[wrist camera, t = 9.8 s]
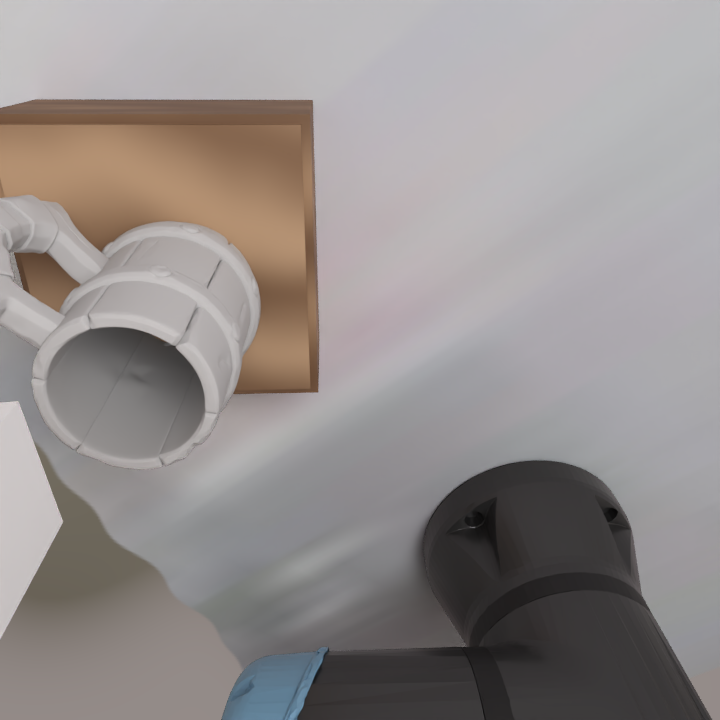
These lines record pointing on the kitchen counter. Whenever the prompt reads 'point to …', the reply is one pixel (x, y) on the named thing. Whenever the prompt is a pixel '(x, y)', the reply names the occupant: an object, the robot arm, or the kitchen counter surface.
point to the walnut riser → (184, 200)
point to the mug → (131, 332)
